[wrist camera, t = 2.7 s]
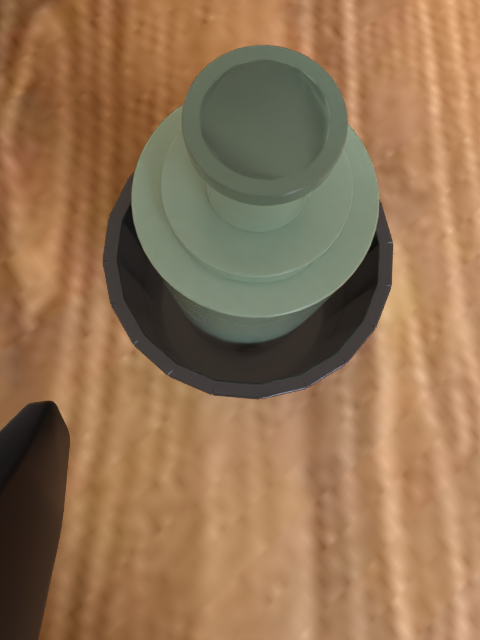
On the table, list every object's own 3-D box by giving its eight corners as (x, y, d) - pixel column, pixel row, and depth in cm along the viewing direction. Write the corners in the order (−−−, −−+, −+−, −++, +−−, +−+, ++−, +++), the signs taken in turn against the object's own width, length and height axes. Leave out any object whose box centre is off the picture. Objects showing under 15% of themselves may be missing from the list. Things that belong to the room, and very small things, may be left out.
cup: (378, 367, 19) (428, 360, 14) (159, 419, 19) (133, 429, 14) (322, 165, 21) (350, 95, 16) (117, 207, 20) (81, 149, 15)
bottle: (327, 334, 19) (481, 244, 7) (192, 365, 19) (125, 323, 7) (294, 207, 20) (383, -58, 8) (165, 234, 20) (64, 1, 8)
